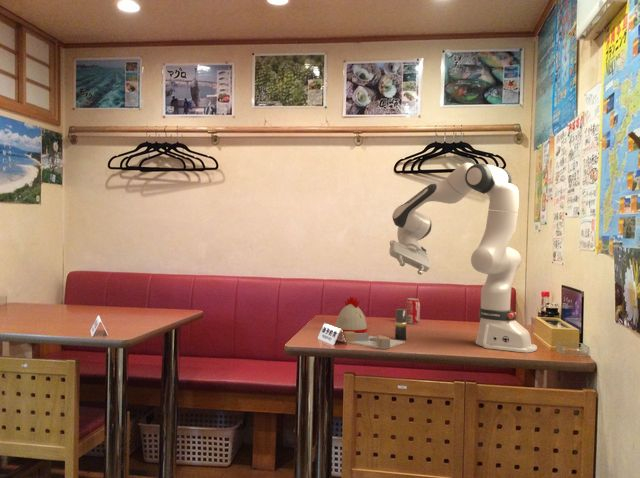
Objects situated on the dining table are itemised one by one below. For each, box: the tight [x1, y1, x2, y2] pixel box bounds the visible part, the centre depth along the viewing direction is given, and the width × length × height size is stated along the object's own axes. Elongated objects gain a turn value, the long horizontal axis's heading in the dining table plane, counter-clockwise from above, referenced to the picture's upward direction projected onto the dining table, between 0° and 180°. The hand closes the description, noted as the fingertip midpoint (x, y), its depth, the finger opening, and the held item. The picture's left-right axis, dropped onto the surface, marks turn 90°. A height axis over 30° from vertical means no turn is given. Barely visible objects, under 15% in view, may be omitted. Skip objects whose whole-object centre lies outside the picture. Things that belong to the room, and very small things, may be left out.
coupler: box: [394, 308, 408, 341], centre depth 205 cm, size 5×5×12 cm
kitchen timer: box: [335, 296, 368, 333], centre depth 221 cm, size 14×14×15 cm
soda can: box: [404, 297, 421, 325], centre depth 246 cm, size 7×7×12 cm
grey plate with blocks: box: [343, 331, 406, 350], centre depth 197 cm, size 24×17×4 cm
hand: (411, 269), depth 217 cm, fingers open, 8 cm apart
